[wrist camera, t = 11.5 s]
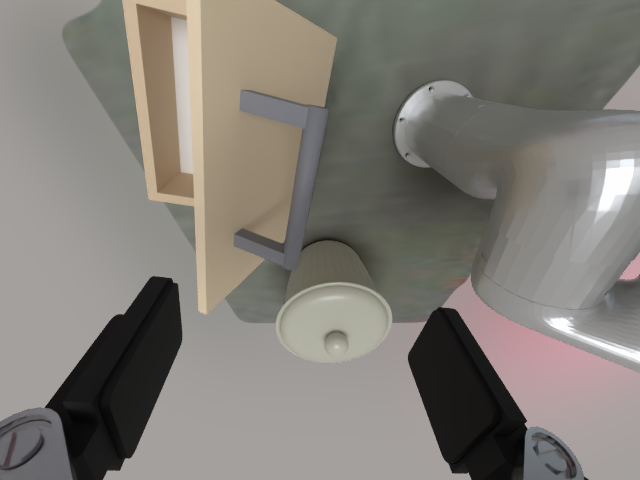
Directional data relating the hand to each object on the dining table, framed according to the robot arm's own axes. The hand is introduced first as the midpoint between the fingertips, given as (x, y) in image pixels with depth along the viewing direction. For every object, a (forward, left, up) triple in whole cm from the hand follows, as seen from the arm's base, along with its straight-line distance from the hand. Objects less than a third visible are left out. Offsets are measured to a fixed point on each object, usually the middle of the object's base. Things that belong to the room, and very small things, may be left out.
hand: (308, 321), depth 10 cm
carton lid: (+3, 0, -19) cm, 19 cm away
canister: (-9, +25, -38) cm, 47 cm away
